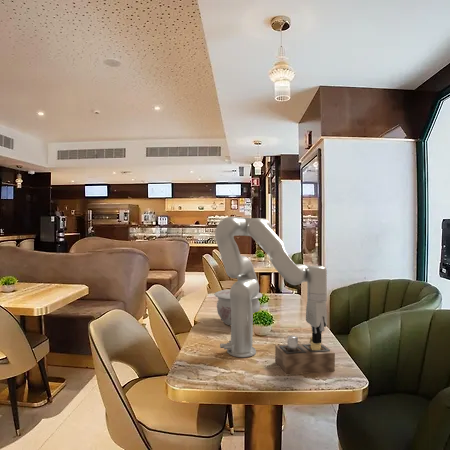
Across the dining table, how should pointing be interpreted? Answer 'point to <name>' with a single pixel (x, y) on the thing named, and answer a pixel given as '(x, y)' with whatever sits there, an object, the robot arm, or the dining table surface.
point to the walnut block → (304, 359)
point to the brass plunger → (315, 346)
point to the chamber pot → (225, 305)
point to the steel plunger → (292, 344)
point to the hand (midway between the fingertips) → (316, 342)
